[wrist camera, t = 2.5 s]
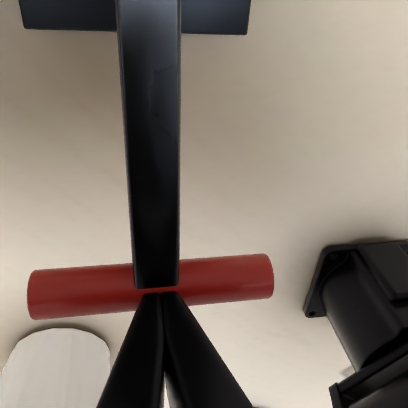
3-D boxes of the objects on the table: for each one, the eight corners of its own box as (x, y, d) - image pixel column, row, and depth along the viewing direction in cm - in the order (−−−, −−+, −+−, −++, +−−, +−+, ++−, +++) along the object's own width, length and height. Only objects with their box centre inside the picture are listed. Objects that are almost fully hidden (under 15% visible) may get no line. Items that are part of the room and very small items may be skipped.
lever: (252, 266, 12) (279, 324, 9) (47, 282, 11) (26, 351, 8) (328, -350, 6) (436, -543, 4) (-102, -440, 5) (-276, -767, 3)
